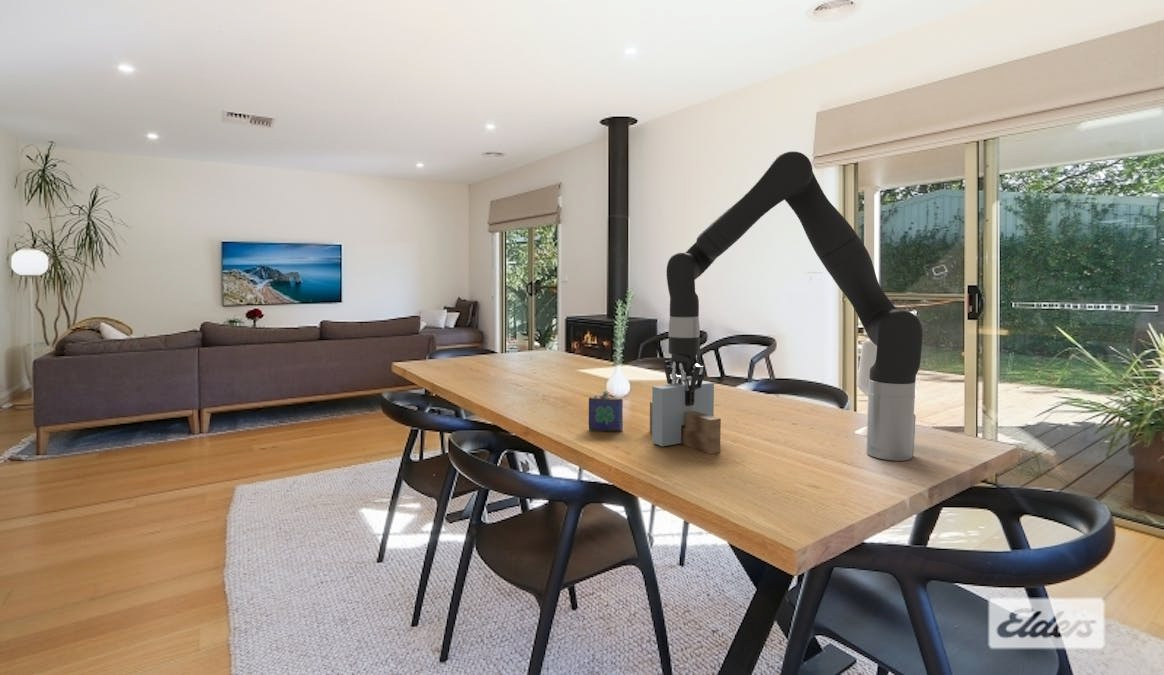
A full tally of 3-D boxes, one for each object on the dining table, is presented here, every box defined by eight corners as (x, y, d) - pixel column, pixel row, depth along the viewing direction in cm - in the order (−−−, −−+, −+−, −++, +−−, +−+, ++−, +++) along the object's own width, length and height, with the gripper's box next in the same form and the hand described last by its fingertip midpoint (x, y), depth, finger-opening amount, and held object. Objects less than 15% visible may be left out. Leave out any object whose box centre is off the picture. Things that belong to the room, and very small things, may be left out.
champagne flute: (872, 429, 159) (876, 340, 157) (889, 436, 153) (893, 343, 150) (849, 430, 158) (852, 340, 156) (864, 437, 152) (868, 343, 150)
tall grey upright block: (652, 442, 146) (652, 386, 145) (702, 434, 154) (703, 380, 153) (662, 446, 143) (662, 388, 142) (713, 437, 151) (713, 382, 149)
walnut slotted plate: (649, 431, 158) (649, 402, 158) (658, 430, 160) (659, 400, 159) (710, 454, 137) (710, 420, 137) (720, 452, 139) (720, 418, 138)
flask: (623, 429, 161) (623, 390, 159) (622, 432, 158) (621, 392, 157) (589, 428, 162) (589, 389, 161) (587, 431, 159) (587, 391, 158)
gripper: (715, 336, 142) (714, 407, 143) (678, 332, 154) (677, 397, 156) (690, 337, 138) (689, 410, 140) (654, 333, 151) (654, 400, 152)
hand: (683, 403), depth 148 cm, fingers closed on tall grey upright block, 4 cm apart
